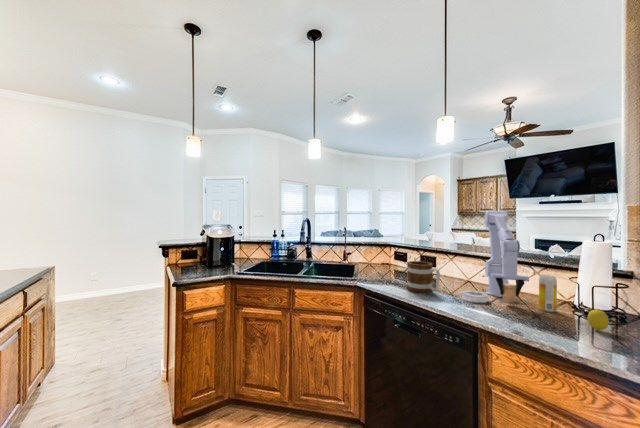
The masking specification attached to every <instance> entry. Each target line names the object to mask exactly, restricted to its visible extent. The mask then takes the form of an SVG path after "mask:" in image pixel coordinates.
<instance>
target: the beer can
mask: <svg viewBox="0 0 640 428" xmlns="http://www.w3.org/2000/svg"><path fill="white" fill-rule="evenodd" d="M557 283H558V280H557V277H556V276H554V275H549V274H541V275H539V278H538V308H539V309H540V311H543V312H547V313H555V312H556V311H557V307H558V306H557V302H558V299H557V296H558V294H557V291H558V290H557V289H558V284H557Z"/></svg>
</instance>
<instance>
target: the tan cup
mask: <svg viewBox="0 0 640 428" xmlns="http://www.w3.org/2000/svg"><path fill="white" fill-rule="evenodd" d="M516 289H517V286H516V284H515V285H514V284H511V283H509V284H503V296H502V301H504V302H507V303H516V302H517V296H516Z"/></svg>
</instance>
